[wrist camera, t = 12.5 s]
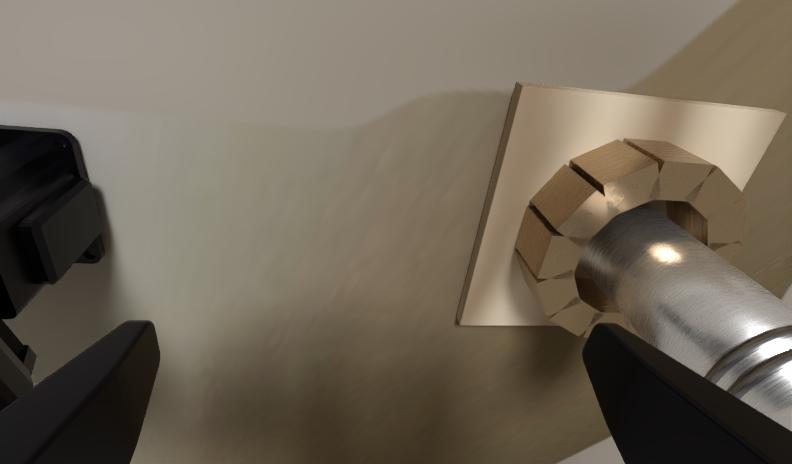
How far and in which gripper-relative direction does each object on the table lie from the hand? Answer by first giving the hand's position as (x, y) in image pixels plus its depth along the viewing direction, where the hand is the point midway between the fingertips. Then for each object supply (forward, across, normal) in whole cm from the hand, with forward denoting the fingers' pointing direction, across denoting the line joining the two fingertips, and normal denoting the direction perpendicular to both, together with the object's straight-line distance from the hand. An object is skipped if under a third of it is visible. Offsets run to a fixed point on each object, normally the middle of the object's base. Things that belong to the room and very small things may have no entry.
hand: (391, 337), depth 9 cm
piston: (+12, -14, +4) cm, 19 cm away
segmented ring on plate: (+13, -14, +4) cm, 20 cm away
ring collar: (+13, -14, +4) cm, 20 cm away
